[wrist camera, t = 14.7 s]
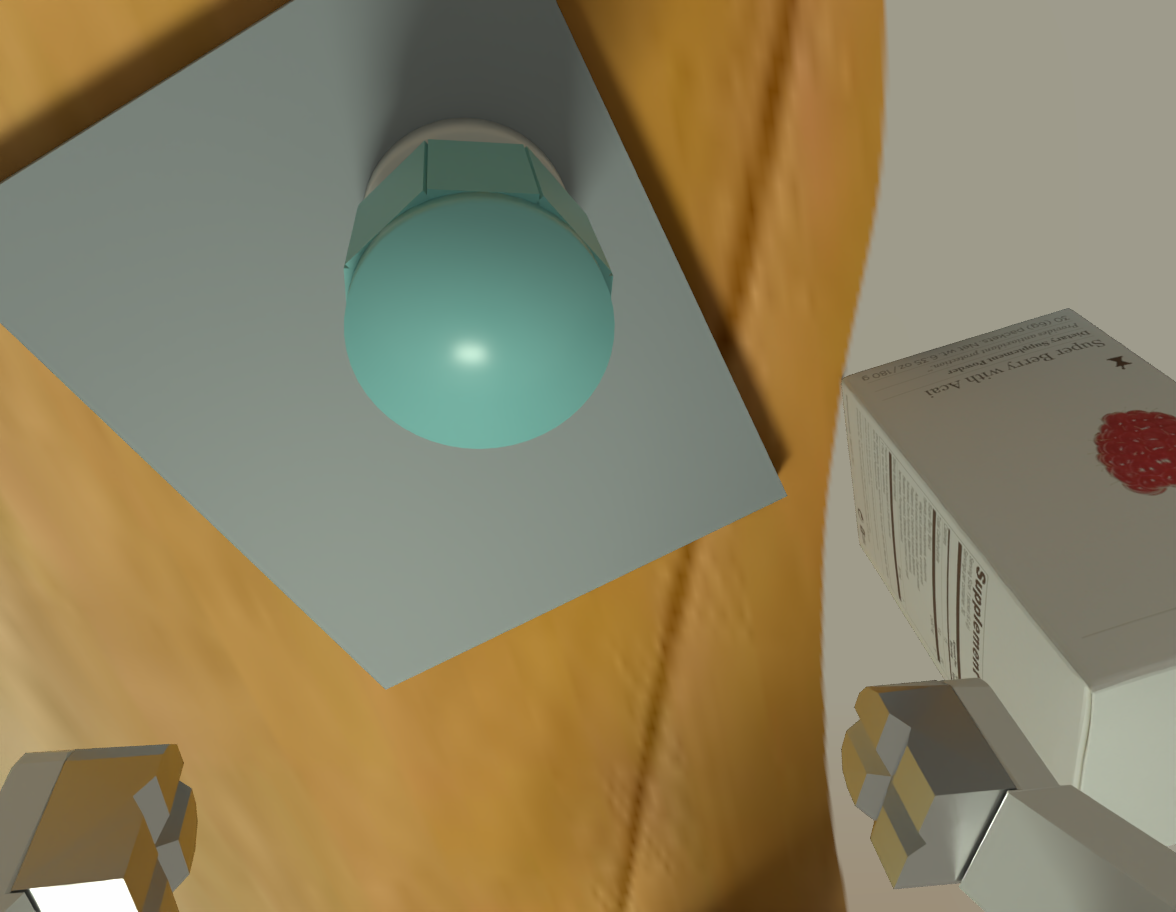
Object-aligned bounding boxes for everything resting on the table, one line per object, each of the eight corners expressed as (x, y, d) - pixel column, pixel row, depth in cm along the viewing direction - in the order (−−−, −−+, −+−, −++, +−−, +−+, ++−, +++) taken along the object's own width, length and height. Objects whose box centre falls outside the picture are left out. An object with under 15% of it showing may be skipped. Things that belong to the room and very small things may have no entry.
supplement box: (1074, 298, 31) (1489, 574, 19) (1059, 485, 37) (1377, 796, 24) (834, 372, 32) (1092, 692, 19) (852, 547, 37) (1066, 887, 24)
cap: (477, 89, 20) (487, 141, 16) (627, 260, 23) (666, 339, 19) (311, 250, 22) (284, 333, 18) (471, 392, 25) (479, 490, 21)
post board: (776, 477, 34) (863, 628, 27) (386, 667, 36) (377, 847, 30) (493, -127, 22) (522, -124, 15) (-67, 224, 24) (-257, 362, 17)
